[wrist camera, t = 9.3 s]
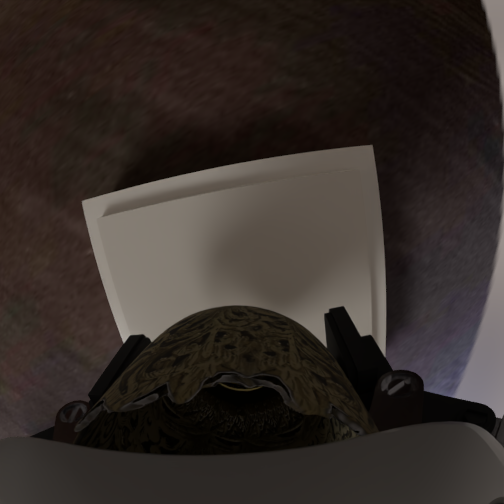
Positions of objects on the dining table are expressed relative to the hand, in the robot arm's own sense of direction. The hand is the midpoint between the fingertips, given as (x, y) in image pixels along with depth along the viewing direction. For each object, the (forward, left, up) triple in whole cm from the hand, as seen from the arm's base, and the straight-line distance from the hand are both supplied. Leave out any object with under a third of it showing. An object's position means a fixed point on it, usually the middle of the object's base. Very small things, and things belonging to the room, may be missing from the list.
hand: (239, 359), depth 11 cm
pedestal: (0, 0, -7) cm, 7 cm away
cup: (0, 0, -2) cm, 2 cm away
